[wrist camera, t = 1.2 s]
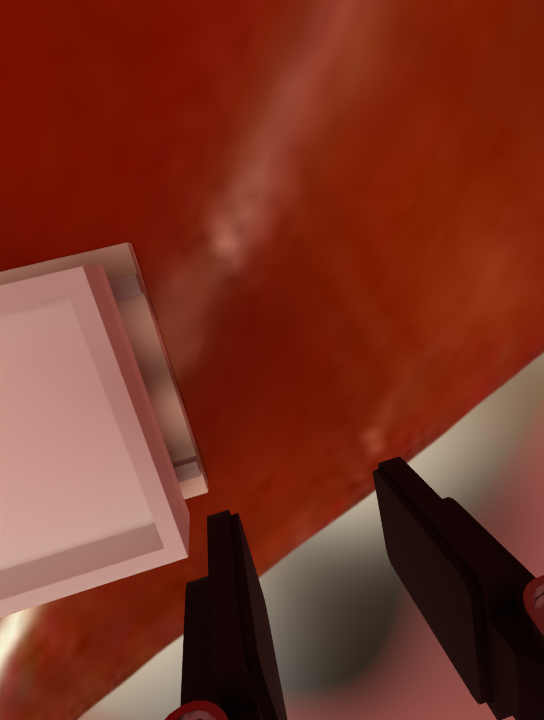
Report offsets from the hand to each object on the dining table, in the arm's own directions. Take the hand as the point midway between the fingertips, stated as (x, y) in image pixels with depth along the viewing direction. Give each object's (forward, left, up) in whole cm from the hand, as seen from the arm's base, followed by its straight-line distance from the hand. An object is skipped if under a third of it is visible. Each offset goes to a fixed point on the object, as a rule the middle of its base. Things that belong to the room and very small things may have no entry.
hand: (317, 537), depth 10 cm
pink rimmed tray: (0, -14, -17) cm, 22 cm away
